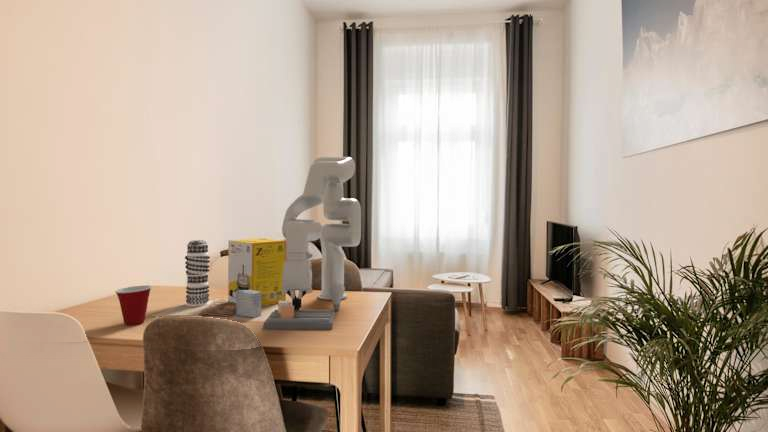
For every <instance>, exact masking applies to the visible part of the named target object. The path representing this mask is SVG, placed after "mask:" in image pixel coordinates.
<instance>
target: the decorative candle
mask: <svg viewBox="0 0 768 432" xmlns="http://www.w3.org/2000/svg"><path fill="white" fill-rule="evenodd" d="M186 246H187V249H186V250H187V251H186V256H184V260H186V261H185V263H184V264H185V269H186V270H185V275H186V276H187V277H186V278H187V279H186V280H187V282H186V287H185V289H186V291H185V293H186V295H185V298H186V299H185V305H186V306H187V307H192V308H193V307H194V308H195V307H204V306H207V304H208V305H210V293H209V292H210V286H209V275H210V273H209V272H210V271H211V270H210V269H209V268H210V267H211V266H210V265H209V264H210V263H211V261H210V260H209V259H210V258H211V256H210V255H209V243H207V241H206V240H204V239H202V240H201V239H198V240H197V239H196V240H190V241H189V242H188V243H187V244H186ZM203 305H204V306H203Z"/></svg>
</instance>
